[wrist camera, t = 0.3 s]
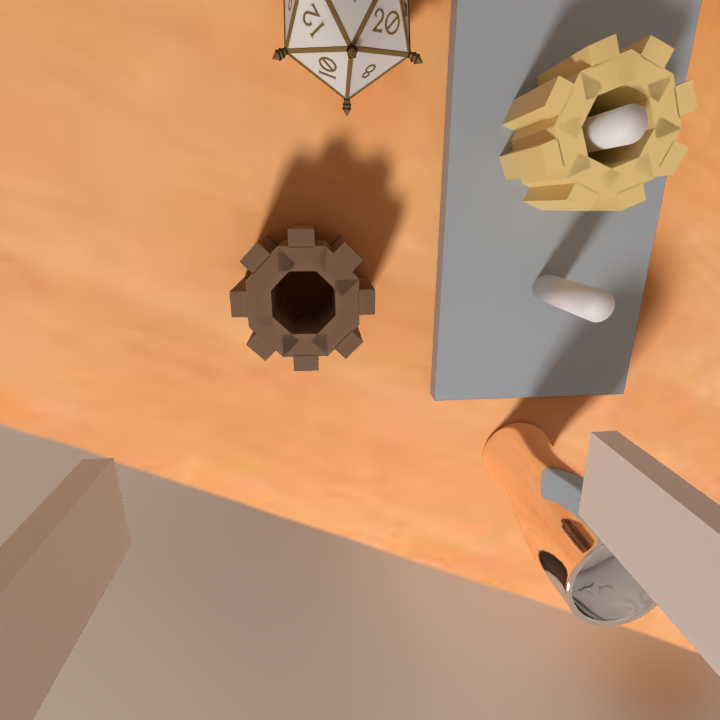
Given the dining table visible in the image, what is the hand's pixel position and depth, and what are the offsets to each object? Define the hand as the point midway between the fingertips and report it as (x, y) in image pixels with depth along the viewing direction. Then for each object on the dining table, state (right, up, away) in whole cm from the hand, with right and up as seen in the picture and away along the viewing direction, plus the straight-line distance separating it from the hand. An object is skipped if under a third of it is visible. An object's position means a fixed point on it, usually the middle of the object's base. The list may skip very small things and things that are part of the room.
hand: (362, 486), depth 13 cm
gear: (+14, +18, +19) cm, 30 cm away
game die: (-1, +24, +17) cm, 30 cm away
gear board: (+14, +14, +22) cm, 29 cm away
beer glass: (+14, -5, +28) cm, 32 cm away
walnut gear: (-4, +9, +22) cm, 24 cm away
